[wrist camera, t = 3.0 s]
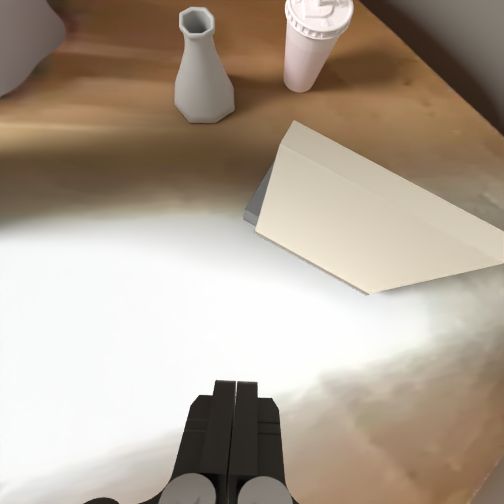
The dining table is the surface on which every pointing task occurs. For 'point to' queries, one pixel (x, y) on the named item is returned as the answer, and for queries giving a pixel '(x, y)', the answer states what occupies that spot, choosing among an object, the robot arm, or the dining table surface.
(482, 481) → the dining table surface
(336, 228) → the panel
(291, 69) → the smoothie
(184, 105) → the flask
